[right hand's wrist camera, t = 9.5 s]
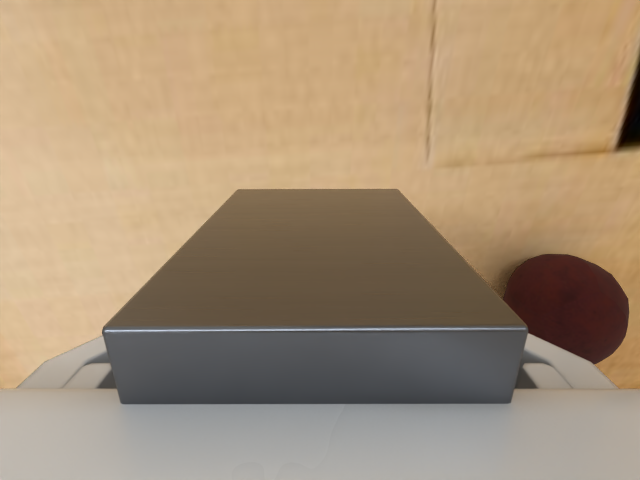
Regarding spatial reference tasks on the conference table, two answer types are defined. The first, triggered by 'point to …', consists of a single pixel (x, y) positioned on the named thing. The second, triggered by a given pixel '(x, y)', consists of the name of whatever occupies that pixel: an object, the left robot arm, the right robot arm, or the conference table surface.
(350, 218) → the bar
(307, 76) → the conference table surface
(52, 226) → the conference table surface
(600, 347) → the potato
